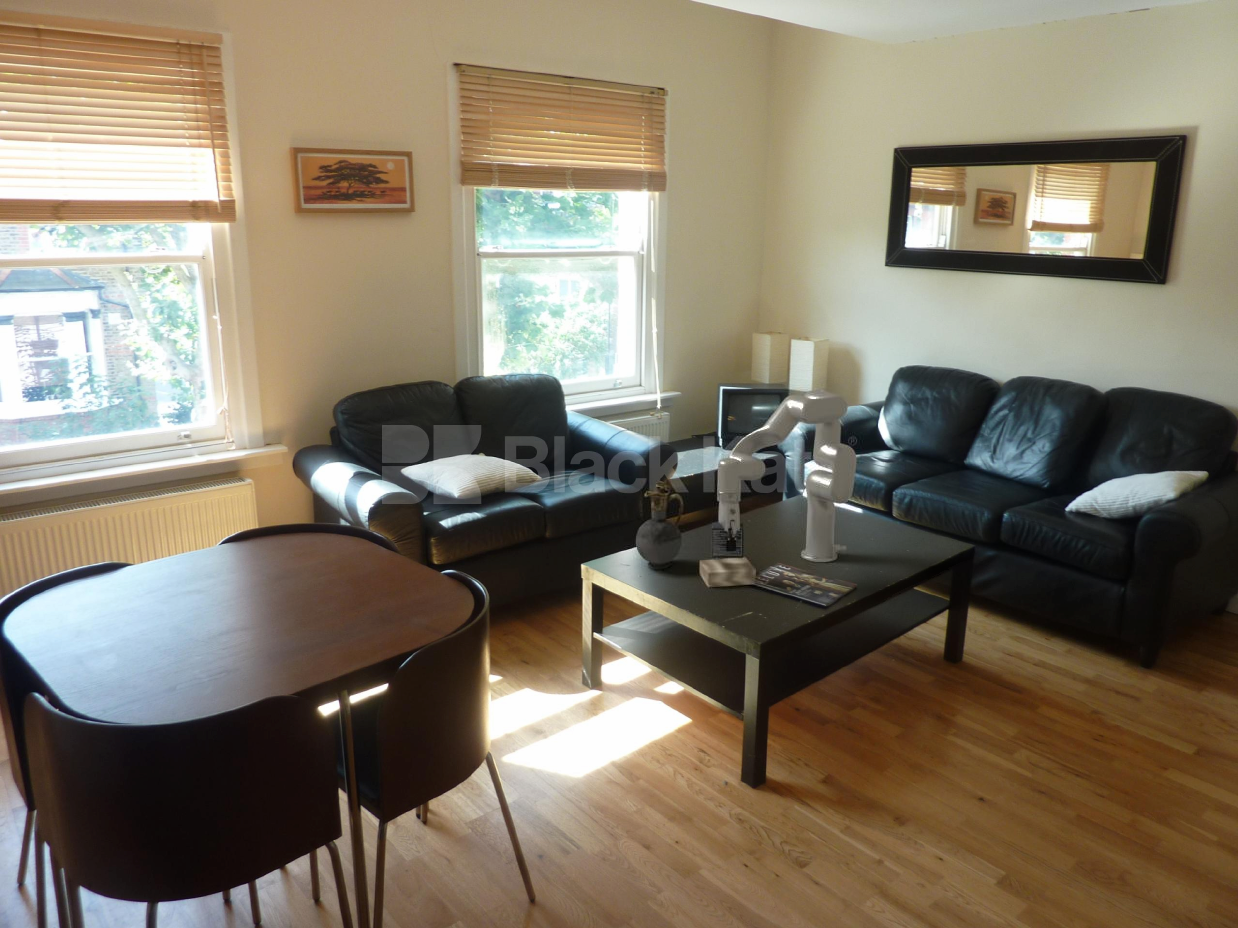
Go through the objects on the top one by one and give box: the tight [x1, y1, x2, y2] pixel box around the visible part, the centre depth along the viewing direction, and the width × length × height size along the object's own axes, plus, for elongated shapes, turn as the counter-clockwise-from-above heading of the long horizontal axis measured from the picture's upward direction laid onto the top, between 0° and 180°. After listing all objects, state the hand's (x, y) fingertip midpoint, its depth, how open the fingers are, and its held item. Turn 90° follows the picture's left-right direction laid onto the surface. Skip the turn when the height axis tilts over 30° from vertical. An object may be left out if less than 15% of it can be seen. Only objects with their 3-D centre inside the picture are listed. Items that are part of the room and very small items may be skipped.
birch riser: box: [699, 556, 757, 588], centre depth 315 cm, size 16×12×5 cm
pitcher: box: [635, 481, 684, 570], centre depth 326 cm, size 11×19×30 cm, turn 130°
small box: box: [711, 522, 745, 559], centre depth 312 cm, size 11×6×10 cm, turn 86°
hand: (727, 546), depth 313 cm, fingers closed on small box, 7 cm apart
